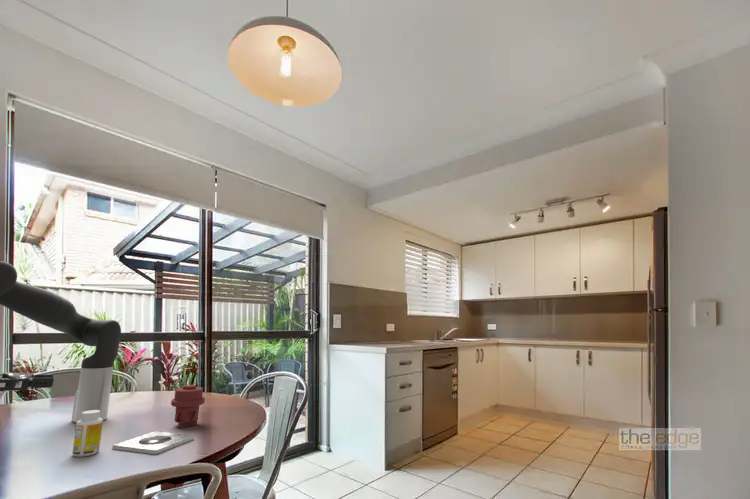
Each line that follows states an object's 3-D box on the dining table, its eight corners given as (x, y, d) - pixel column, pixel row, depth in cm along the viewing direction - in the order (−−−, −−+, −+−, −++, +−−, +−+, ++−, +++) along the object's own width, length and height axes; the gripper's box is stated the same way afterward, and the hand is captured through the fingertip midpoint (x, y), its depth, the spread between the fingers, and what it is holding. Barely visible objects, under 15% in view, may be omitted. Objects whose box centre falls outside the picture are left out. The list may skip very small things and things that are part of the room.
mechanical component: (208, 422, 134) (189, 430, 124) (182, 420, 136) (161, 428, 126) (212, 384, 136) (193, 388, 126) (186, 382, 138) (165, 387, 128)
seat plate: (112, 449, 105) (112, 444, 106) (154, 434, 119) (154, 431, 119) (155, 454, 102) (156, 450, 102) (193, 439, 115) (194, 435, 115)
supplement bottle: (102, 450, 105) (108, 408, 106) (92, 457, 99) (97, 413, 101) (79, 450, 104) (84, 409, 105) (67, 458, 98) (73, 414, 100)
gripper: (-40, 367, 85) (56, 367, 95) (-30, 363, 96) (55, 363, 106) (-50, 405, 83) (49, 400, 93) (-38, 396, 94) (49, 392, 104)
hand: (52, 380), depth 99 cm, fingers open, 8 cm apart
